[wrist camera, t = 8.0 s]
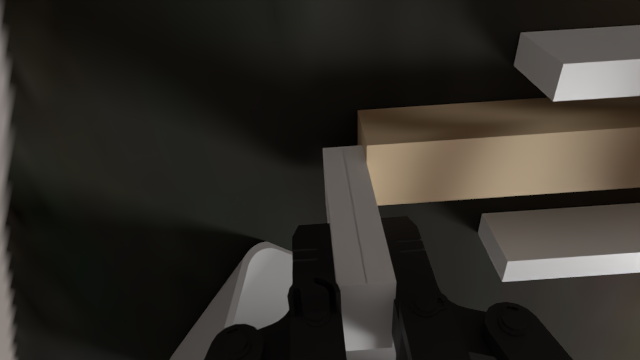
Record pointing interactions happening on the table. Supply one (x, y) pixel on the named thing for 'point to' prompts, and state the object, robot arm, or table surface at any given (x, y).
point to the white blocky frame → (576, 222)
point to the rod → (501, 148)
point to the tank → (254, 303)
